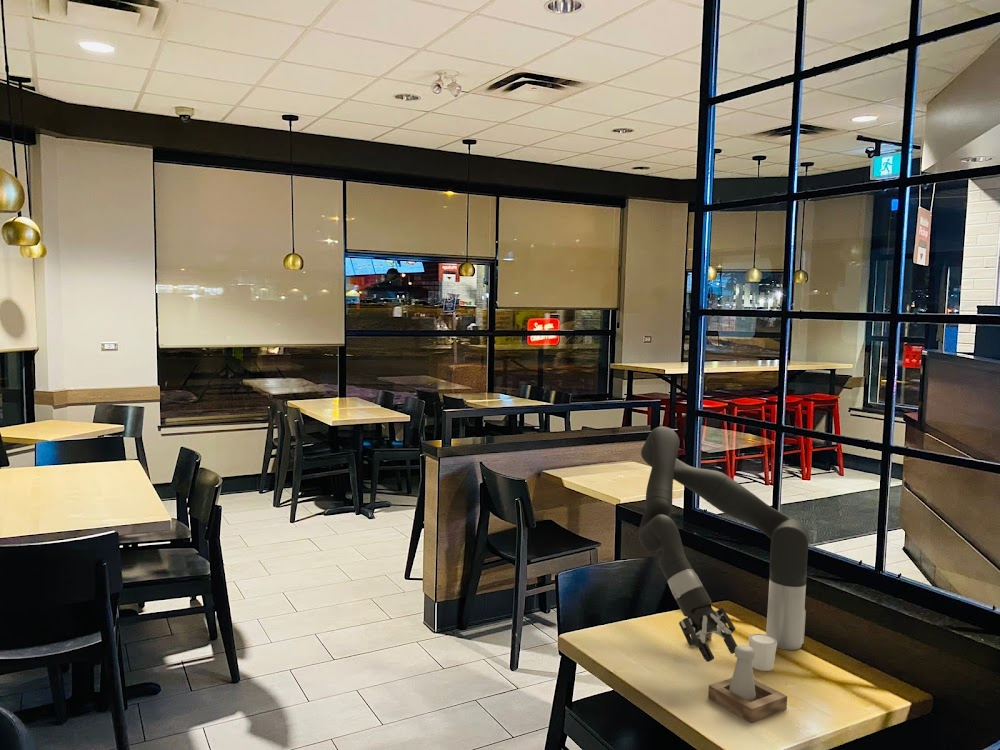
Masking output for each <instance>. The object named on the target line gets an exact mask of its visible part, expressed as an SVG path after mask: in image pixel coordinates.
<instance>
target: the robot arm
mask: <svg viewBox="0 0 1000 750" xmlns="http://www.w3.org/2000/svg"><path fill="white" fill-rule="evenodd" d="M680 443H681V442H680V437H679V436H678V434H677V432H675V430H673V429H671V428H669V427H667V426H657V427H655V428H653V429H652V430H651V431H650V432H649V434H648V436H647V438H646V440H645V442H644V443H643V446H642V447H641V449H640V450H641V451H640V455H641V458H642V460H643V461H644V462H645V463H646V464H647V465H648V466H650V467H651V469H650V473H649V478H648V481H647V487H646V492H645V505H644V507H645V508H644V512H643V515H642V517H641V521H640V524H639V527H638V528H639V529H638V540H639V542H640V544H641V547H642V548H643V549H644V550H646V551H648V552H650V553H656V552H659V551H661V550H662V554H661V557H660V558H659V560H658V566H659V568H660V570H661V571H662V572H661V573H662V574H663V576H664V578H665V579H666V580H665V581H666V582H667V584H668V587H669V589H670V592H671V593H672V596H673V598H674V599H675V601H676V603H677V605H678V607H679V609H680V611H681V613H682V615H683V616H684V618H683V619H681V620H680V621H679V622H678V625H679V627H680V629H681V631H682V633H683V635H684V637H685V639H686V642H687V644H688V646H690V647H693V646H694V647H697V649H698V650H699V652H700V654H701V656H702V658H703V659H704V660H705V661H706V662H707V663H709V662H712V661H714V660H715V656H714V654H713V652H712V650H711V648H710V646H709V645H708V643H707V642H706V640H705V639H706V638H705V635H706V633H707V632H708V633H710V632H712V633H714V634H715V635H718V636H720V637H721V638H723V642H724V644H725V645H726V647H727V650H728V651H729V653H730V654H731V655H733V654H735V647H736V646H738V644H737V643H736V641H735V639H734V637H733V635H732V634H733V633H734V632H735V631H736V627H735V625H734V624H733V621H732V620H731V619H730V617H729V615H728V614H727V612H726V610H725V608H724V607H720V608H719V609H717V610H714V609H713V607H712V603H713V601H712V599H711V598H710V595H709V594H708V592H707V591H706V588H705V587H704V586H703V583H702V581H701V580H700V578H699V576H698V574H697V573H696V572H695V570H694V569H693V567H692V565H691V563H690V562H689V559H688V557H686V554H685V549H684V546H683V543H682V538H681V534H680V531H679V528H678V525H677V524H676V523H675V521H674V520H673V519H672V518H671V515H672V511H673V489H674V487H673V486H674V484H673V483H674V481H676V482H677V483H679V484H681V485H682V486H684V487H685V488H687V489H689V490H690V491H692V492H693V493H695V494H696V495H697V496H699V497H700V498H702V499H703V500H704V501H706V502H707V503H709V504H710V505H712V507H714V508H715V509H717V510H719V511H721V512H722V513H724V514H725V515H727V516H730V517H732V518H734V519H737V520H739V521H741V522H744V523H746V524H749V525H751V526H753V527H755V528H756V529H757V530H759V531H760V532H762V533H763V534H764V535H765V536H767V537H768V539H770V550H769V551H770V554H769V579H768V580H769V582H768V583H769V584H768V595H767V596H768V599H767V600H768V601H767V611H766V613H767V616H766V629H765V630H766V631H765V632H766V633H765V635H768V636H771V637H773V638H775V639H776V640H777V647H776V648H777V649H782V650H791V651H795V650H799V649H801V648H802V646H803V644H804V642H805V629H806V628H805V627H806V613H807V610H806V609H805V604H806V589H807V578H808V577H807V576H808V575H807V573H808V572H807V571H808V569H807V568H808V553H809V543H810V534H809V532H808V529H807V528H806V527H805V526H804V525H803V523H801V522H800V521H797V519H794V518H792V517H791V516H789V515H787V514H784V513H783V512H781V511H779V510H777V509H775V508H773V507H772V506H770V505H769V504H767V503H766V502H764V501H763V500H762V499H761V498H759V497H758V496H757V495H755V493H753V492H751V491H750V490H748V489H747V488H746V487H744V486H743V485H741V484H740V483H739V482H737V481H736V480H734V479H733V478H731V477H730V476H729V475H727V474H725V473H724V472H721V471H718V470H714V469H708V468H707V469H706V468H699V467H694V466H691V465H689V464H687V463H685V462H683V461H682V460H680V459H679V458H677V457H678V452H679V448H680V445H681V444H680ZM692 626H693V627H694V629H693V627H692ZM691 637H692V639H691Z"/></svg>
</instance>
